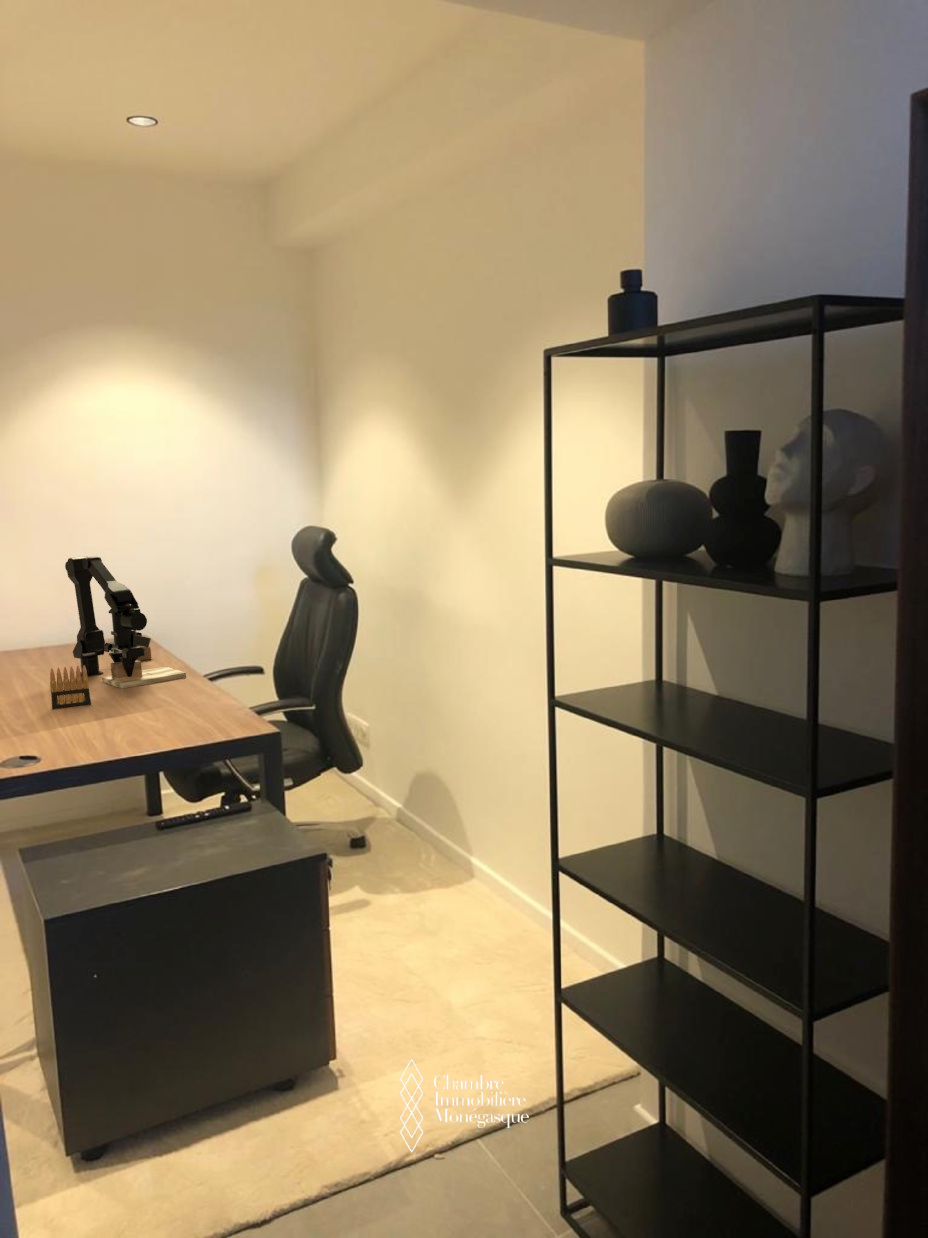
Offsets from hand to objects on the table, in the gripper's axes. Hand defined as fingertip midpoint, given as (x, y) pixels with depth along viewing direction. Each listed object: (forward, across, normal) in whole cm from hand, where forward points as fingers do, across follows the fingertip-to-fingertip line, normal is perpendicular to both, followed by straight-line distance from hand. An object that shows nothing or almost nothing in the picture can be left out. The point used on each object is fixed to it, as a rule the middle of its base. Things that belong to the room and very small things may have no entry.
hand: (126, 675), depth 328 cm
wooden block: (+2, +34, -19) cm, 39 cm away
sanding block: (+1, 0, 0) cm, 1 cm away
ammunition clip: (+2, -20, +25) cm, 32 cm away
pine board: (+2, 0, -6) cm, 6 cm away
